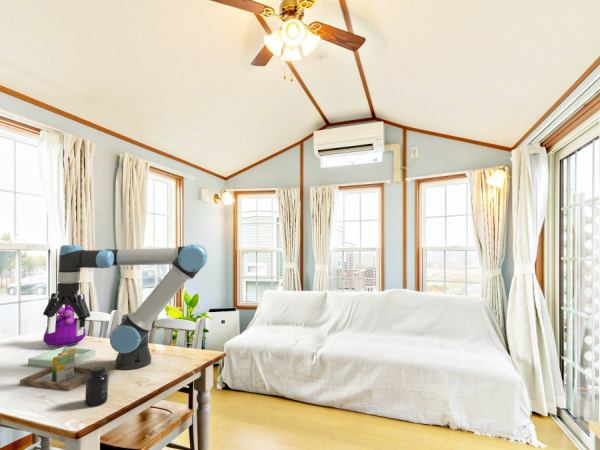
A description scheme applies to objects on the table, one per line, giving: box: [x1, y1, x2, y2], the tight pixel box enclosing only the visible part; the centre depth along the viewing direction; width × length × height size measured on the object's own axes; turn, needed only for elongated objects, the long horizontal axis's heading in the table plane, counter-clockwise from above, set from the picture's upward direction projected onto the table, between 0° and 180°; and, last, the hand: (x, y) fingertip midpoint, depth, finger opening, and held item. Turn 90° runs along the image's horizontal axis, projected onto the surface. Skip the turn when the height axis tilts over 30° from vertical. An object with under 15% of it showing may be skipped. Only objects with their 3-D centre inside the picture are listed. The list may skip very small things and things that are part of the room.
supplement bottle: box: [84, 365, 109, 408], centre depth 118 cm, size 7×7×12 cm
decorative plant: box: [42, 305, 86, 347], centre depth 181 cm, size 19×19×30 cm
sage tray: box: [27, 346, 97, 369], centre depth 157 cm, size 18×18×3 cm
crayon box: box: [51, 349, 75, 383], centre depth 136 cm, size 7×3×12 cm, turn 161°
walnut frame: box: [19, 365, 92, 391], centre depth 136 cm, size 22×16×2 cm
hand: (65, 333), depth 137 cm, fingers open, 13 cm apart
